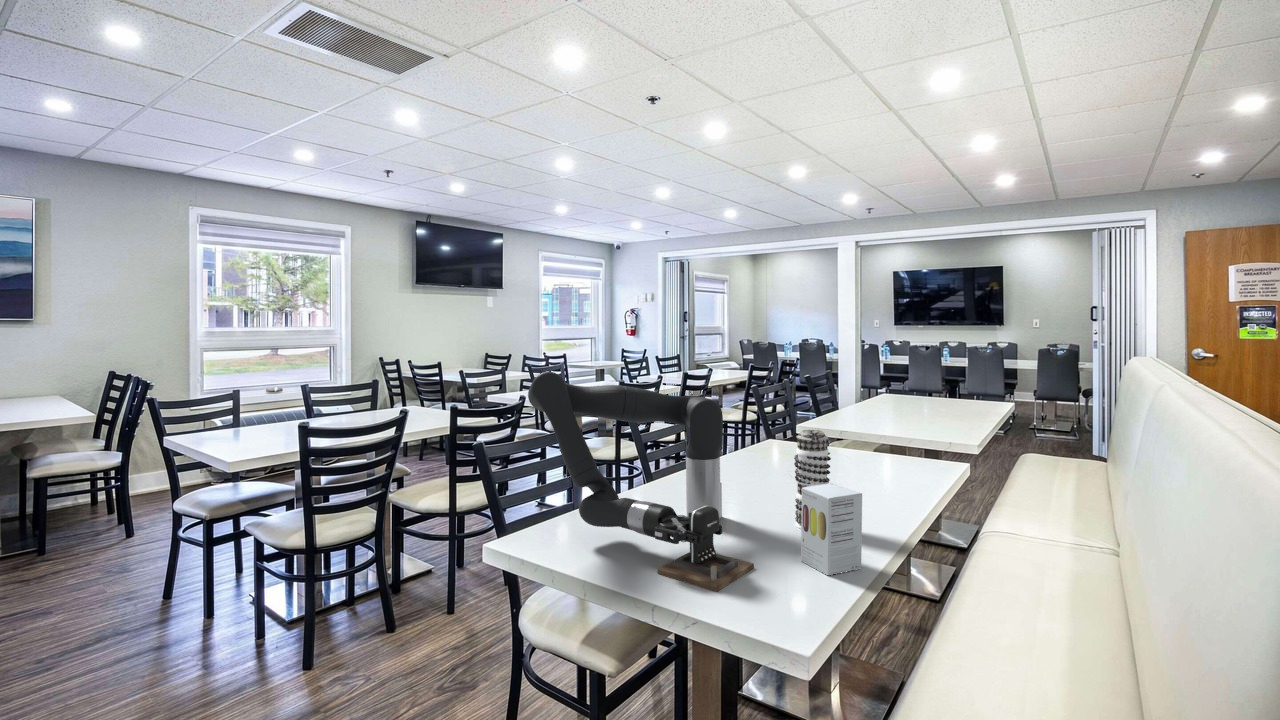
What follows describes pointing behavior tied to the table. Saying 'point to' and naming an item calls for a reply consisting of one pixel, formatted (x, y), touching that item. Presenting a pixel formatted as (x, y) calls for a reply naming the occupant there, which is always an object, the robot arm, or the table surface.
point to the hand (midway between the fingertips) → (711, 534)
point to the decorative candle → (810, 464)
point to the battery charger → (703, 533)
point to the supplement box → (831, 528)
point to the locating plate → (706, 571)
